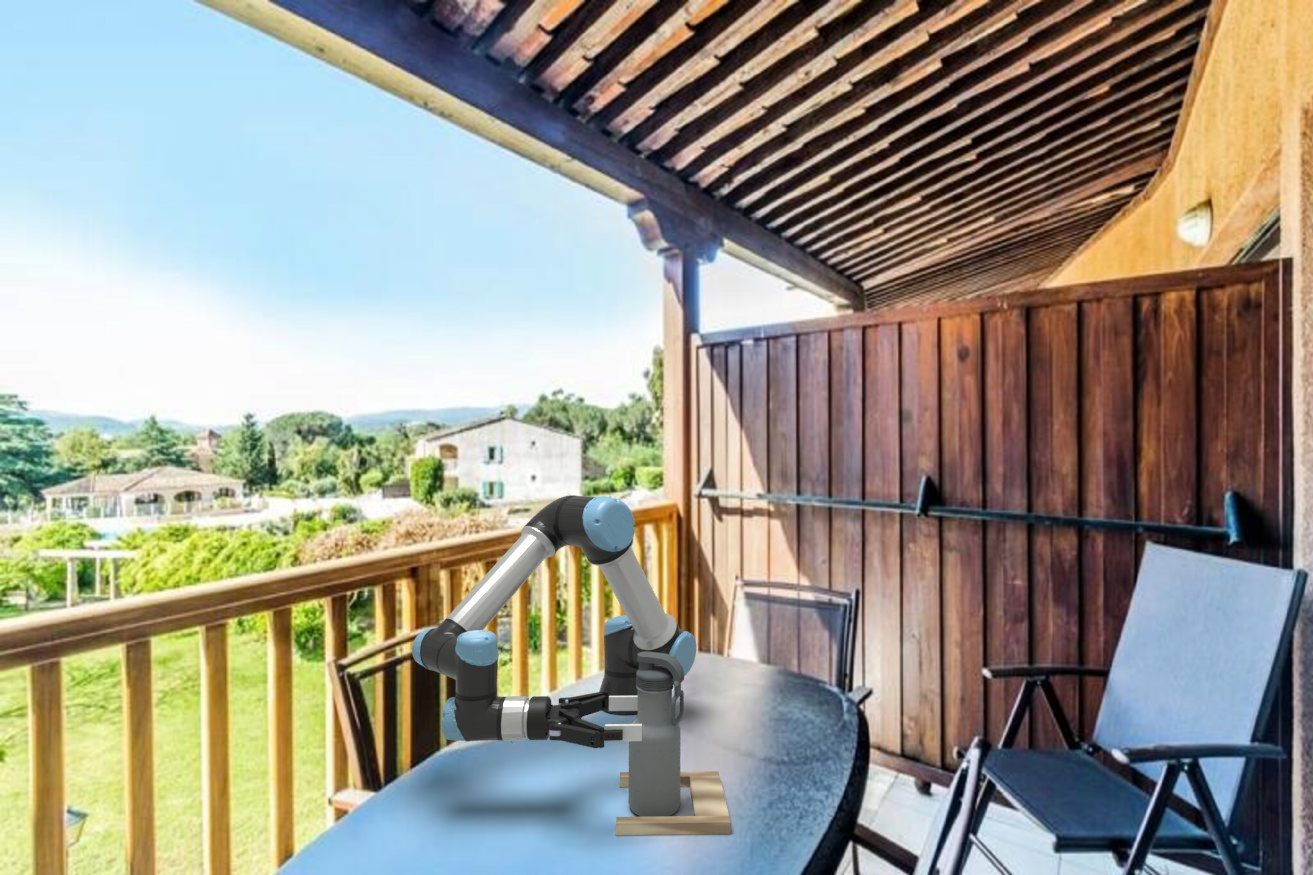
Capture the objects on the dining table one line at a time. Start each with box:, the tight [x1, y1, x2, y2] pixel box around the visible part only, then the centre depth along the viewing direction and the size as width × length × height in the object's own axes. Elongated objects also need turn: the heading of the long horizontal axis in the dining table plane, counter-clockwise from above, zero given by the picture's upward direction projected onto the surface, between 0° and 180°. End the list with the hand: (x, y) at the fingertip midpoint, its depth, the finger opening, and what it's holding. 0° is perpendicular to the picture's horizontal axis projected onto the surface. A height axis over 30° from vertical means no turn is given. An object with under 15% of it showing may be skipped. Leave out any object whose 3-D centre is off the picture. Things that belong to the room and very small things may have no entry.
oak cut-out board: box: [615, 770, 732, 836], centre depth 118 cm, size 18×20×2 cm
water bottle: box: [628, 652, 685, 817], centre depth 118 cm, size 10×10×28 cm
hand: (641, 716), depth 118 cm, fingers open, 13 cm apart
